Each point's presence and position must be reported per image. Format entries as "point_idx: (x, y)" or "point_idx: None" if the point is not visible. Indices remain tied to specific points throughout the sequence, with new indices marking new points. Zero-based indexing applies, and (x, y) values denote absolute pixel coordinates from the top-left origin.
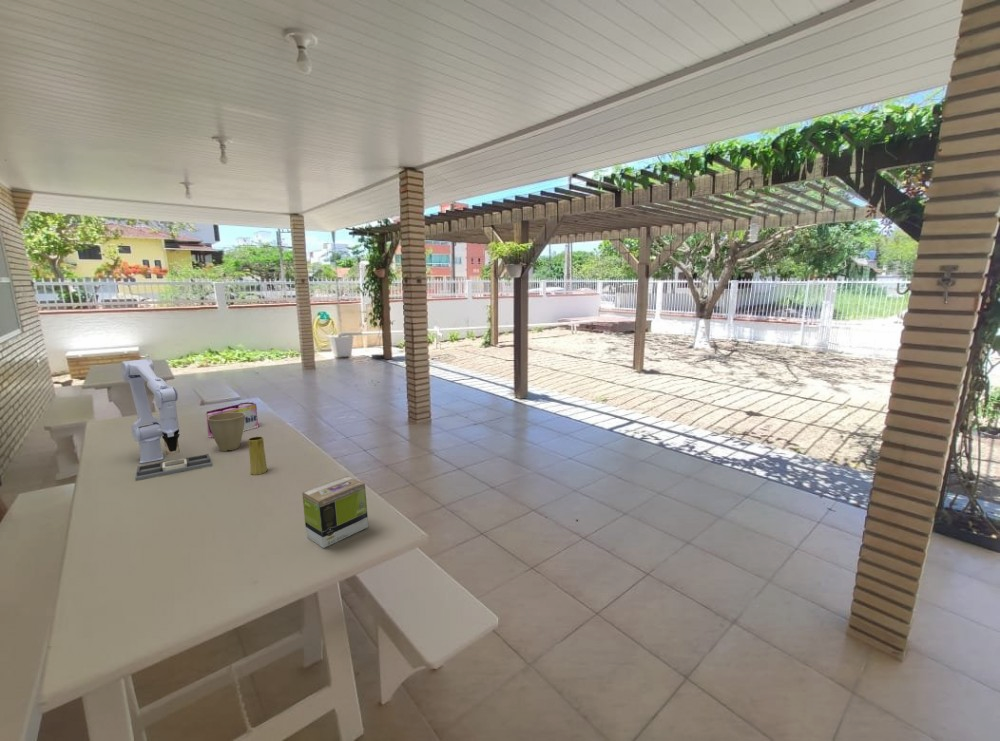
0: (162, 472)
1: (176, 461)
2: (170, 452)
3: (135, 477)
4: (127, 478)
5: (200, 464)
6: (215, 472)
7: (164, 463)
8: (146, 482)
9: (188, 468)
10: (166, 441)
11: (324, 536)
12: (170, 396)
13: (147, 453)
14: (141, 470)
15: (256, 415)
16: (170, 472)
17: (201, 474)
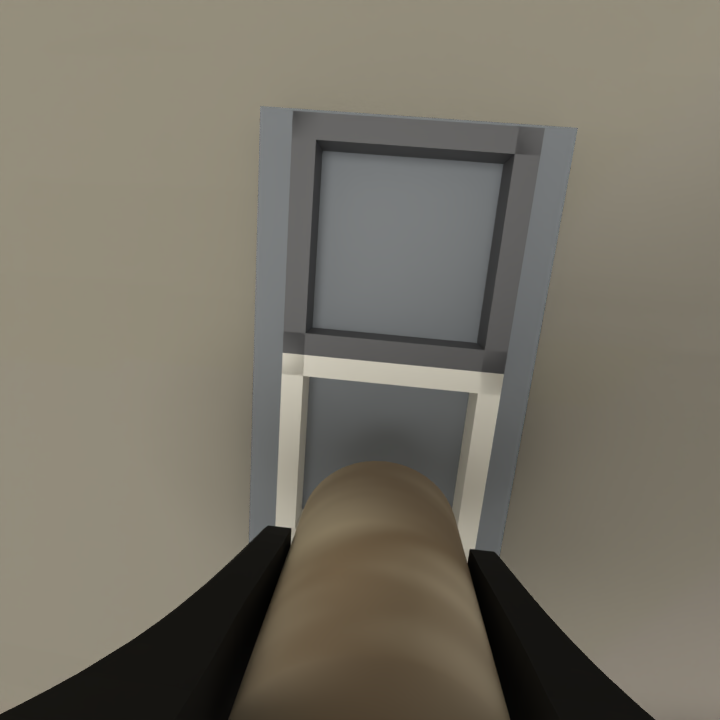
0: (259, 339)
1: (462, 481)
2: (301, 520)
3: (268, 108)
4: (406, 45)
5: None
6: (84, 634)
7: (436, 385)
8: (158, 202)
9: (250, 521)
10: (73, 691)
11: None
12: None
13: None
14: (479, 171)
15: None
16: (256, 394)
17: (97, 560)
